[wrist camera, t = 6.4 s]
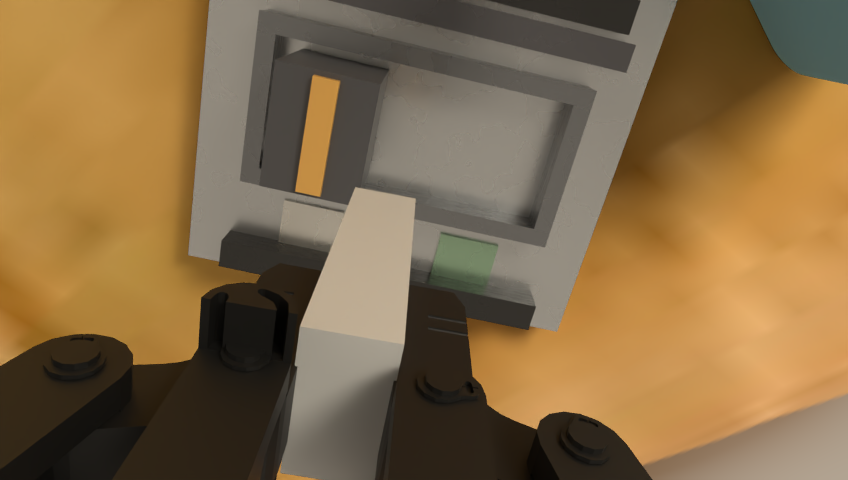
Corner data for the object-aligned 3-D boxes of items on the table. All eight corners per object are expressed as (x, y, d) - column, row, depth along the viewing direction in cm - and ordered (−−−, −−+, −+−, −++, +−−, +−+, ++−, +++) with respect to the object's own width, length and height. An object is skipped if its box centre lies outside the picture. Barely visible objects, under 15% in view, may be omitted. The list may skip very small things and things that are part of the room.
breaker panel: (236, -131, 26) (207, -149, 23) (667, -19, 27) (700, -22, 24) (201, 240, 33) (175, 268, 29) (550, 313, 34) (563, 347, 31)
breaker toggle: (302, 48, 27) (273, 60, 22) (389, 69, 27) (380, 85, 22) (286, 155, 28) (256, 187, 24) (368, 173, 29) (355, 209, 24)
